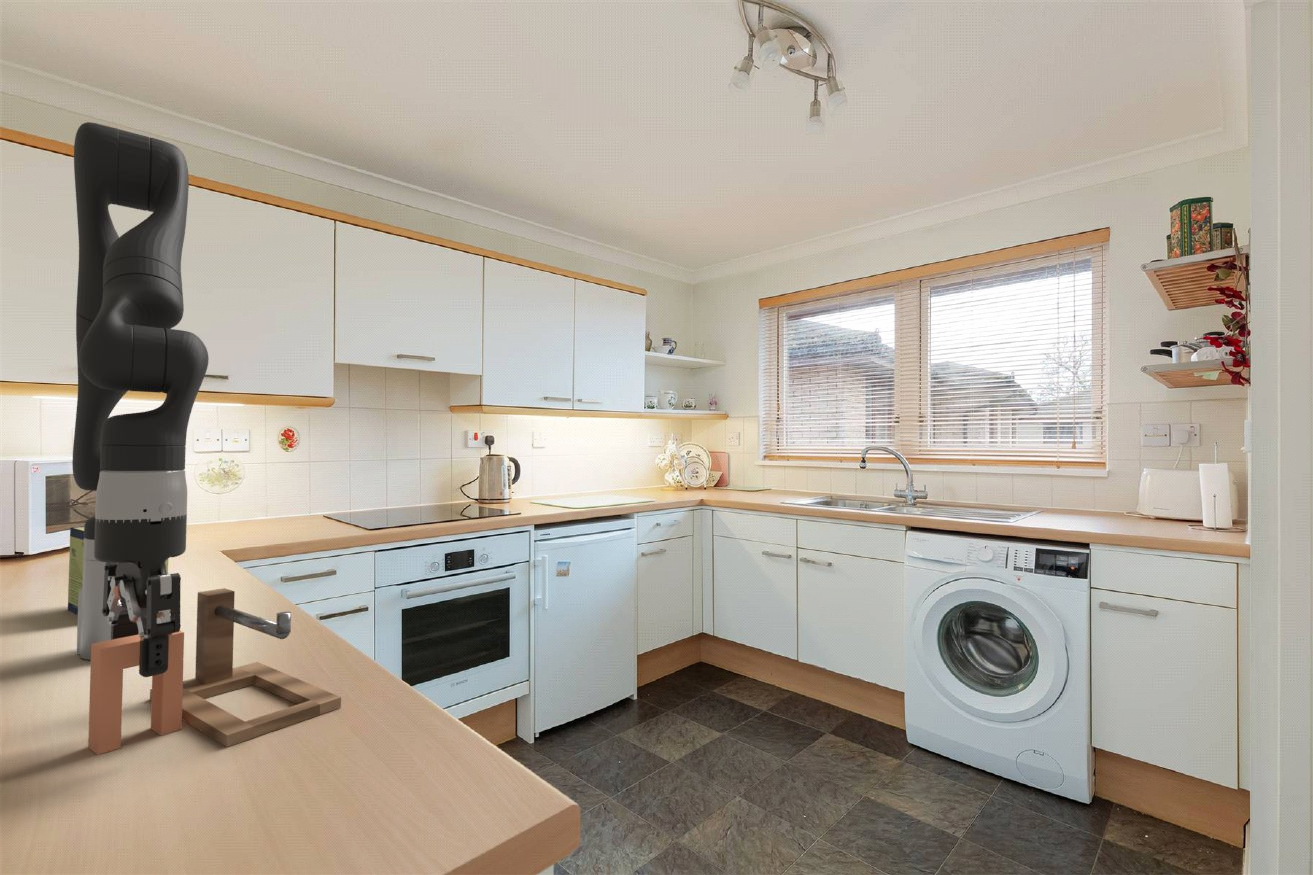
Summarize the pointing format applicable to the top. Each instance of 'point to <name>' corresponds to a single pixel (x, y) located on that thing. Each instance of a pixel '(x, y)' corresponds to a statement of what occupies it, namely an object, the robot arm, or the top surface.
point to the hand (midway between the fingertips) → (138, 665)
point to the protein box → (78, 567)
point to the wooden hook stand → (239, 681)
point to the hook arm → (258, 621)
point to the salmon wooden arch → (109, 686)
